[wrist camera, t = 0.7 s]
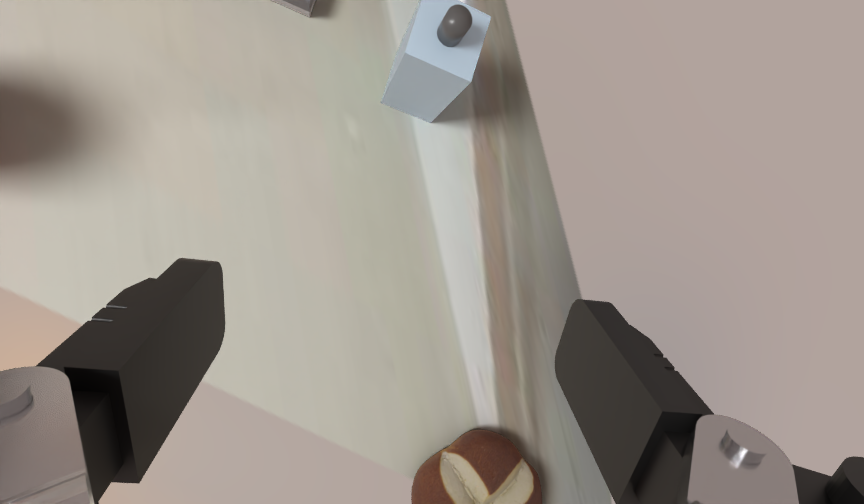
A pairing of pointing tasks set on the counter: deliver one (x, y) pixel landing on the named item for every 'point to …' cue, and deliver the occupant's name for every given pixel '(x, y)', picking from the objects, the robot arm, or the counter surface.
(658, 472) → the robot arm
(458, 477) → the bread
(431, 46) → the plug
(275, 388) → the counter surface
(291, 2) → the grey rimmed tray
